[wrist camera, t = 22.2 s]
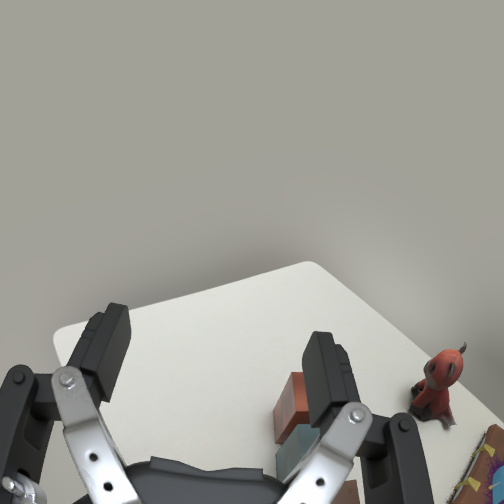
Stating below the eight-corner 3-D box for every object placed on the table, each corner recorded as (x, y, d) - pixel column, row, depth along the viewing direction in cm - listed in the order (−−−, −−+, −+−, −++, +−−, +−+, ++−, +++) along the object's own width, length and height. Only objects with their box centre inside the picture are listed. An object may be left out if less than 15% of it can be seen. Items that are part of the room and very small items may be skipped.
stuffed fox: (444, 443, 29) (497, 397, 23) (392, 409, 35) (437, 358, 29) (456, 410, 34) (500, 364, 28) (408, 380, 40) (447, 329, 34)
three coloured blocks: (324, 534, 19) (363, 525, 14) (279, 539, 18) (307, 535, 14) (309, 410, 34) (334, 372, 30) (273, 410, 34) (291, 371, 29)
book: (412, 545, 16) (436, 537, 13) (481, 431, 30) (498, 414, 28) (477, 582, 5) (502, 574, 3) (529, 468, 19) (548, 453, 17)
